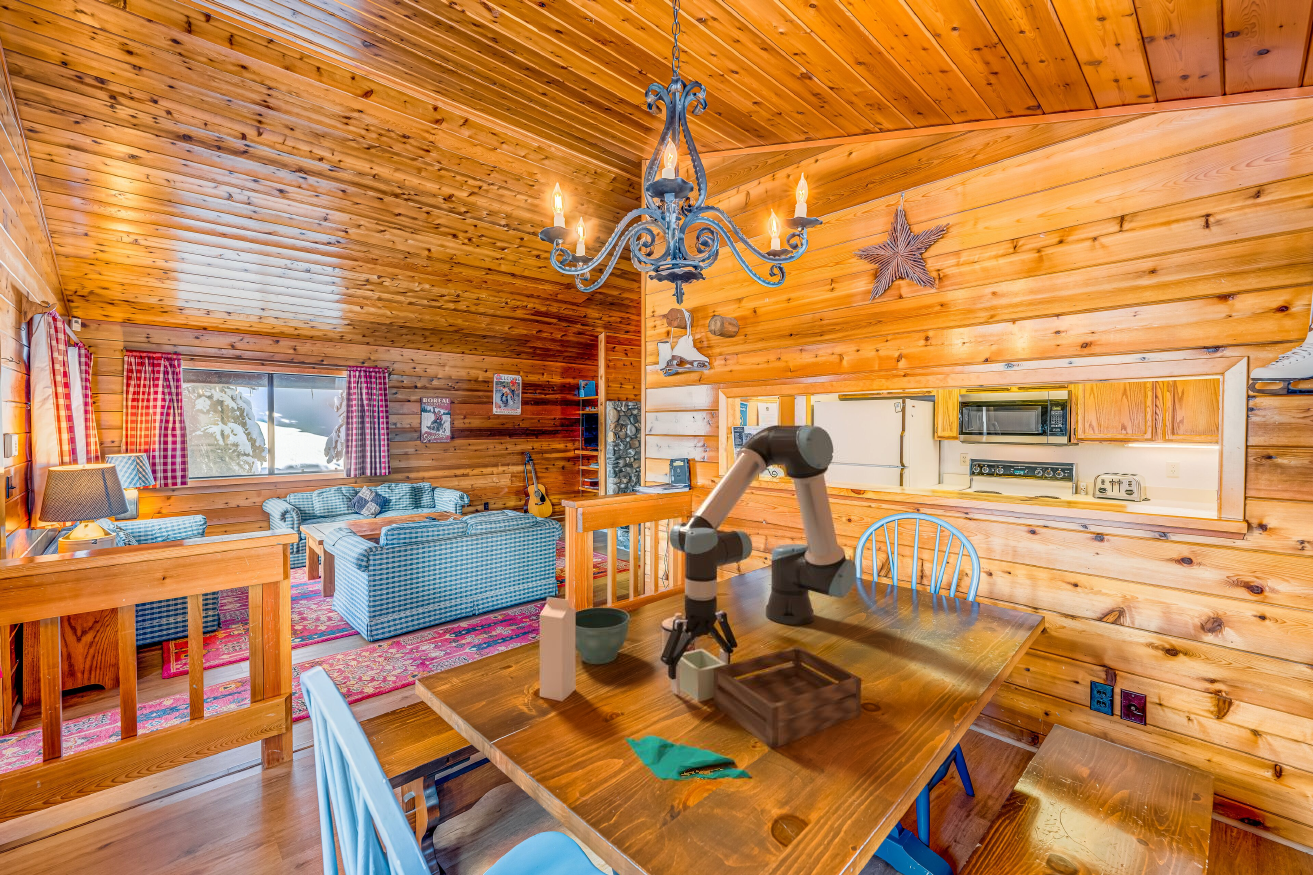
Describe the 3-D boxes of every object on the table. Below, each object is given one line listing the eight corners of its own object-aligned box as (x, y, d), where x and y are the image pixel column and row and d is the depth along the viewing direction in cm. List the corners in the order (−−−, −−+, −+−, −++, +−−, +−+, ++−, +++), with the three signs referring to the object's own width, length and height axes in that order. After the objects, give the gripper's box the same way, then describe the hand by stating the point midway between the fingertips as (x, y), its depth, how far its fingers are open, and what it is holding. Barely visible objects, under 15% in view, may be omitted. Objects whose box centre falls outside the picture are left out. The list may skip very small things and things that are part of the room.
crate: (796, 678, 133) (797, 645, 132) (860, 714, 116) (861, 677, 116) (713, 704, 120) (713, 668, 120) (771, 749, 104) (772, 707, 103)
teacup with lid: (675, 667, 138) (675, 622, 138) (654, 655, 145) (654, 612, 145) (710, 656, 145) (711, 613, 145) (689, 644, 152) (689, 603, 152)
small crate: (701, 676, 134) (702, 648, 134) (726, 693, 125) (726, 664, 125) (674, 683, 130) (674, 654, 130) (697, 702, 121) (698, 671, 121)
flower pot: (556, 656, 144) (556, 616, 144) (603, 639, 155) (603, 602, 155) (593, 677, 132) (593, 633, 132) (641, 657, 144) (642, 617, 144)
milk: (553, 685, 129) (553, 592, 128) (575, 689, 126) (576, 595, 126) (539, 697, 123) (539, 600, 122) (562, 702, 121) (562, 603, 120)
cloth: (604, 753, 103) (604, 741, 103) (649, 722, 114) (649, 711, 114) (721, 815, 87) (721, 801, 87) (761, 772, 98) (761, 760, 98)
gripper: (733, 583, 136) (732, 666, 137) (646, 598, 124) (645, 690, 124) (752, 591, 130) (751, 679, 130) (662, 608, 117) (662, 705, 118)
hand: (699, 684), depth 127 cm, fingers open, 13 cm apart
